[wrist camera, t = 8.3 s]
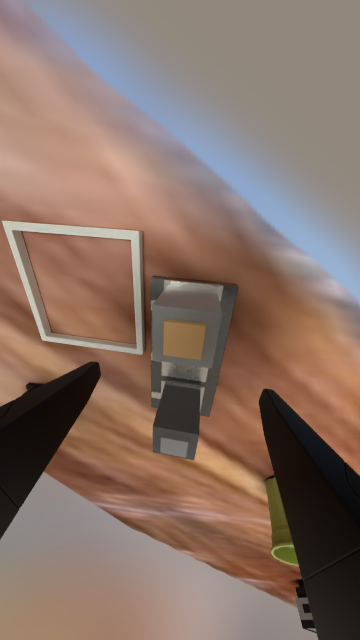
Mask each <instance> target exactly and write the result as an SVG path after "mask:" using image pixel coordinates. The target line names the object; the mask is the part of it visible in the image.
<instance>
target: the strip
mask: <svg viewBox="0 0 360 640" xmlns="http://www.w3.org/2000/svg"><path fill="white" fill-rule="evenodd" d="M168 285H175V286H185V287H195V288H205V289H215V290H217V292H218V296H219V301H220V305H221V309H222V317H221V322H220V327H219V333H218V338H217V343H216V348H215V354H214V359H213V364H212V368H205V367H198V366H191V365H184V364H177V363H170V362H163V361H156V360H152V304H153V303H154V302H155V301H156V299H157V298H158V297H159V296H160V295H161V293H162V292H163V291H164V290H165V288H166V287H167V286H168ZM237 291H238V286H237V284H229V283H219V282H209V281H199V280H189V279H179V278H170V277H160V276H153V277H152V278H151V407H156V408H158V406H159V403H160V399H161V396H162V392H163V389H164V385H165V384H168V385H174V386H180V387H187V388H193V389H199V390H201V391H200V415H202V416H208V417H209V416H210V412H211V407H212V403H213V398H214V394H215V389H216V385H217V380H218V376H219V372H220V367H221V363H222V358H223V354H224V349H225V345H226V340H227V336H228V332H229V327H230V323H231V318H232V314H233V309H234V305H235V300H236V296H237Z"/></svg>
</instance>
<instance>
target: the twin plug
mask: <svg viewBox="0 0 360 640" xmlns="http://www.w3.org/2000/svg"><path fill="white" fill-rule="evenodd" d="M200 391H201V390H199V389H193V388H187V387H180V386H174V385H168V384H165V385H164V389H163V392H162V396H161V399H160V403H159V406H158V410H157V413H156V417H155V421H154V424H153V452H155V453H160V454H165V455H170V456H175V457H181V458H186V459H191V460H194V458H195V453H196V448H197V442H198V437H199V420H200Z"/></svg>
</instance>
